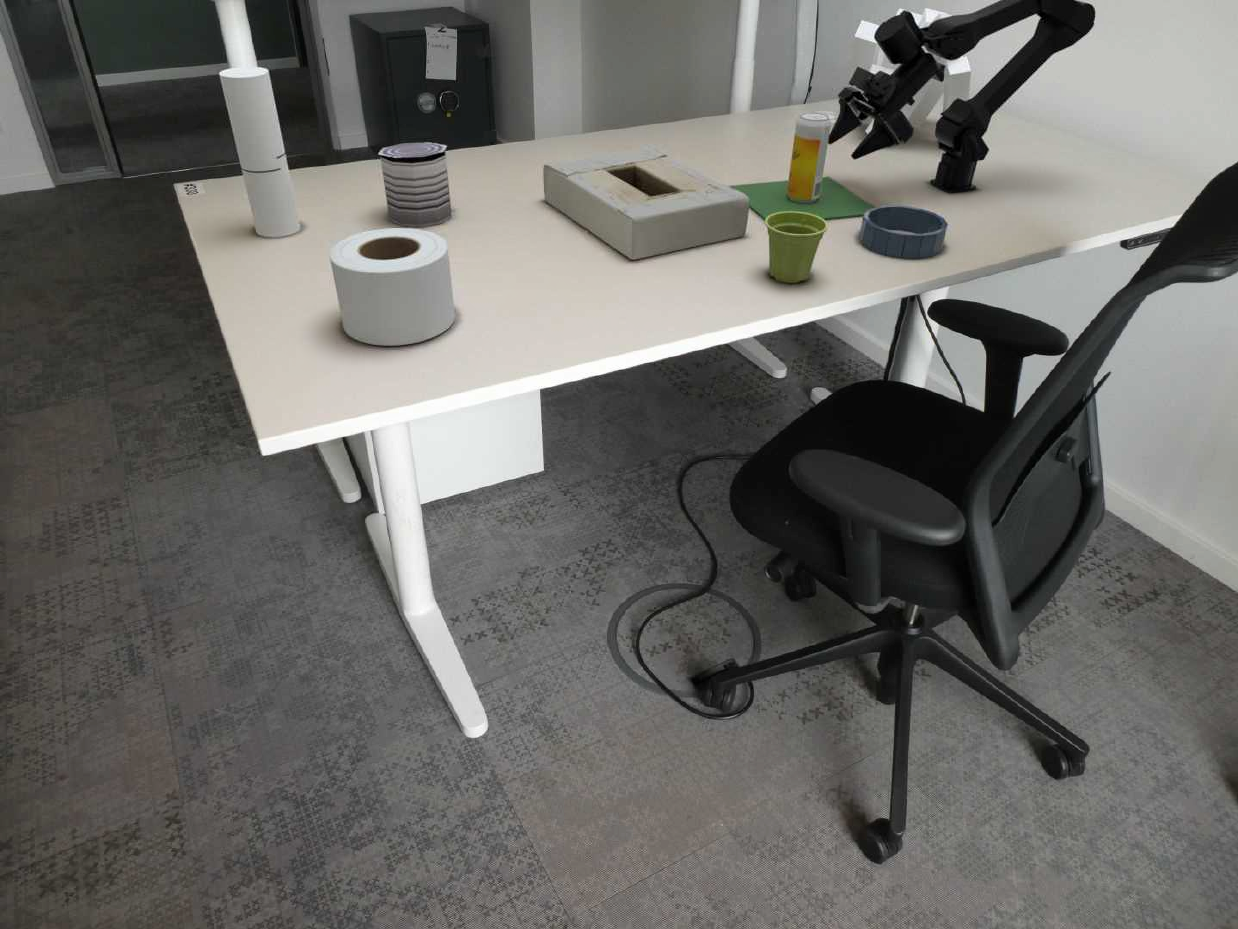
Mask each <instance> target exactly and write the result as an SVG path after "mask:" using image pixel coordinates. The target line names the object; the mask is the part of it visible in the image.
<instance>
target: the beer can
mask: <svg viewBox="0 0 1238 929" xmlns="http://www.w3.org/2000/svg"><path fill="white" fill-rule="evenodd" d="M830 117H831V116H830V115H829V114H827V113H824V112H821V111H820V112H819V111H803V112H801V113H800V114H799V115H798V118H797V119H796V121H795V128H794V129H795V130H794V137H793V143H792V151H791V158H790V159H791V160H790V167H789V174H788V179H787V181H788V188H787V195H788V196H789V199H790V200H792V201H794V202H798V203H812V202H815V201H816V199H817V198H818V197H819V196H820V190H821V184H822V177H823V176H824V171H825V170H824V169H825V165H826V164H825V163H826V157H827V152H828V145H829V144H828V139H829V134H830V132H831V126H832V123H831V119H830Z"/></svg>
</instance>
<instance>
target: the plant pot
mask: <svg viewBox="0 0 1238 929" xmlns="http://www.w3.org/2000/svg"><path fill="white" fill-rule="evenodd" d="M764 225H765V227H766V228H767V229H766V230H767V235H768V258H769V259H768V260H769V262H768V263H769V265H768V266H769V275H770V277H771V278H774V279H775V280H776V281H777V282H782V283H788V284H798V283H800V282H801V281H807V280H808V279H809V277H810V274H811V270H812V266H813V263H814V261H815V257H816V254H817V251H818V248H819V245H820V242H821V240H822V239H823V236H824V234H825V233H826V232H827V231H828V229H829V223H828V222H827V220H824V219H822V218H821V217H819V216H816V215H813V214H809V213H804V212H793V211H788V212H778V213H774V214H771V215H770V216H768V217H767V218H766V219H765V220H764Z"/></svg>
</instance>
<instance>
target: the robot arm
mask: <svg viewBox="0 0 1238 929" xmlns="http://www.w3.org/2000/svg"><path fill="white" fill-rule="evenodd" d="M909 11H910V10H907V11H906V9H903V11H902V12H901V13H900V15H897V16H896V15H893V16H892V17H890V18H888V19H887V20H886V21H883V22H882V23H881V24H879V27H878V29H877V30H876V32H875V35H874V39H875V40H876V42H877V43H878V45H879V46H880V48H881V49H882V51H883V52H884V54H885V55H886V57H887V58H888V60H889V61H890V63H891V64H900V65H899V66H898V67H897V68H896V70H895V71H894V72H893V73H892V74H891V75H889V74H887V73H885V72H882V71H878V72H877V73H876V74H873V73H871V72H869V71H867V70H865V69H862V68H860V67H857V68H856V70H855V72H854V74H853V76H852V78H851V80H850V81H849V83H847V84H848V85H850V86H844V87H843V89H841V91H840V92H839V93H838V94H837V97H838V98H839V99H838V104H839V114H838V116H837V118H836V121H835V122H834V125H833V126H832V129H830V133H829V139H828V145H832V144H834V143H836V142H837V141H839V140H841V139H842V138H844V137H845V136H847V135H848V134H850V133H851V132H853V131H855V130H856V129H857V128H859V127H860V126H862V125H863V122H862V121H866V120H867V119H868V118H871V119H872V120H873V119H874V123H873V127H872V130H871V131H870V132H869V134H867V135H866V136H865V137H864V138H863V139H862V141H861V142H860V143H859V144H858V145H857V146H856V148H855V149H854V150H853V151H852V153H851V155H850V156H851V158H852V159H853V160H858V159H861V158H863V157H865V156H867V155H870V154H873V153H875V152H879V151H881V150H883V149H886V148H888V147H892V146H898V145H899V144H900V143H901V144H903V145H905V144H906V143H907V142H908V141H910V140H911V138H912V137H913V135H914V132H915V131H914V130H915V128H914V127H913V124H910V122H909V121H908V119H907V118H906V116H905V115H904V114H903V112H902V111H900V110H901V109H902V108H903V107H904V106H905V105H906V104H908V105H910V106H912V105H913V104H914V102H915V101H914V99H913V97H914V96H915V95H916V94H917V92H918V91H919V90H920V89H921V88H922V87H923V86H924V85H925V84H926V83H927V82H928V81H929V80H930V79H931V78H932V79H935V80H937V81H940V82H943V81H944V70H945V65H943V64H940V63H937V61H936V60H935V58H934V57H933V55H932V54H934V55H937V56H939V57H942V58H944V59H947V60H956V59H958V58H960V57H962V56H963V57H964V56H965V55H966V54H968V53H969V52H971V51H972V50H974V49H975V48H976V47H977V46H978V44H979V42H980V41H982V40H983V39H985V38H986V37H988V36H991V35H992V34H995V33H997V32H999V31H1002V30H1004V29H1006V28H1008V27H1010V26H1013V25H1014V24H1017V23H1019V22H1021V21H1024V20H1026V19H1028V18H1030V17H1032V16H1034V15H1036V16H1037V17H1039V19H1038V21H1037V24H1036V28H1035V30H1034V33H1033V36H1032V37H1030V39H1029V40H1028V41H1027V42H1026V43H1025V44H1024V45H1023V46H1022V47H1021V48H1020V49H1019V50H1018V51H1017V53H1016V54H1014V55H1013V56H1012V57H1011V58H1010V60H1009V61H1007V62H1006V64H1004V65H1003V67H1001V68H1000V69H999V71H998V72H996V74H995V75H994V76H993V77H992V78H991V79H990V80H988V82H987V83H986V84H985V85H984V86H983V87H982V88H981V89H980V90H979V91H978V92H977V93H976V94H975V95H974V96H972V98H969V100H967V101H964V100H962V99H959V98H957V99H956V100H954V101H953V103H952V104H951V105H950V106H949V108H948V109H946V110H945V111H944V112H943V111H941V112H940V114H939V115H940V117H939V119H938V120H937V121H936V123H935V129H934V135H935V136H934V137H935V138H936V140H937V146H938V147H937V148H938V150H941V151H943V152H942V154H941V156H940V157H941V158H940V161H939V162H938V165H937V168H936V173H935V176H934V177H935V178H933V179H930V181H929V182H930V184H933V185H935V186H936V187H938V188H940V189H942V190H944V191H946V192H948V193H959V192H964V191H972V190H973V191H974V190H977V188H978V187H977V185H975V184H972V183H973V181H974V180H973V179H974V176H975V172H976V169H977V164H978V162H979V161H984V160H985V159H986V157H987V155H988V154H989V151H990V149H989V146H988V145H987V144H986V142H985V140H984V139H983V137H984V136H985V134H986V133H987V132H988V128H989V126H990V123H991V120H992V117H993V115H994V114H995V113H996V112H997V111H998V110H999V109H1000V108H1001V107H1002V106H1003V105H1004V104H1005V103H1006V102H1007V101H1008V100H1009V99H1010V98H1011V97H1012V96H1013V95H1014V94H1015V93H1016V92H1017V91H1018V90H1019V89H1020V88H1021V87H1022V86H1023V85H1024V84H1025V83H1026V82H1027V81H1028V80H1029V79H1030V78H1031V77H1032V76H1033V75H1034V74H1035V73H1037V71H1038V70H1039V69H1040V68H1041V67H1042V66H1043V65H1044V64H1045V63H1046V62H1047V61H1048V60H1049V59H1050V58H1051V57H1052V56H1053V55H1054V54H1057V53H1058V52H1061V51H1064V50H1066V49H1068V48H1071V47H1072V46H1074V45H1076V43H1078V42H1079V41H1081V40H1082V39H1083V38H1084V37H1085V36H1087V35H1088V34H1089V33H1090V32H1091V30H1093V28H1094V26H1095V20H1096V10H1095V7H1094V5H1093V4H1091V3H1089V2H1084V1H1081V0H998V1H995V2H994V3H991V4H990V5H989V4H988V5H987V6H985V7H983V8H980V9H979V10H976V11H974V12H971V13H967V14H956V15H955V14H954V15H952V16H950V17H946V18H941V19H938V20H936V21H934V22H932V23H931V24H930V25H929V26H928V27H923V28H919V27H918V25H917V24H916V22H915V20H914V17H913V15H912V13H911V12H912V11H910V12H909ZM922 46H924V47H925V48H926V50H927V51H928V52H930V53H925V51H924V50H923V48H922ZM854 87H855V88H854ZM861 91H862V92H861ZM863 91H864V92H863ZM862 94H863V95H864V96H863V95H862ZM865 98H867V100H868V101H867V100H866V99H865ZM872 111H873V112H872Z"/></svg>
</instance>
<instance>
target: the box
mask: <svg viewBox="0 0 1238 929" xmlns="http://www.w3.org/2000/svg"><path fill="white" fill-rule="evenodd" d="M542 168H543V170H542V174H543V196H544V200H545V201H546V202H547V203H548V204H549V205H551V206H552V207H554V208H556V210H559V211H560V212H561V213H563V214H564V215H566V216H567V217H568V218H570V219H572V220H573V221H574V222H576V224H579V225H581V227H583V228H584V229H586V230H587V231H589V232H590V233H592V234H593V235H594V236H596V237H598V239H600V240H602V241H603V242H605V243H606V244H607V245H609V246H611V247H612V248H613V249H615V250H617V251H618V252H619V253H621V254H622V255H624V256H625V257H627V258H628V259H629V260H632V261H634V260H639V259H644V258H649V257H653V256H658V255H662V254H667V253H672V252H676V251H677V252H678V251H680V250H685V249H690V248H694V247H698V246H703V245H708V244H713V243H717V242H722V241H727V240H732V239H735V238H740V237H743V236H745V234H746V231H747V228H748V222H749V221H748V220H749V211H750V207H749V198H748V196H747V195H745V194H744V193H742V192H740V191H738V190H735V189H732V188H730V187H729V186H730V185H728V184H726V183H720V182H718V181H717V180H714V179H712V178H710V177H708V176H706V175H704V174H702V173H700V172H698V171H697V170H694V169H693V168H691V167H689V166H687V165H685V164H683V163H681V162H679V161H677V160H676V159H674V158H671V157H669V156H668V155H667V154H666V153H663V152H661V151H660V150H659V149H658V148H656V147H653V146H649V145H648V146H644V147H639V148H635V149H629V150H623V151H622V150H621V151H617V152H612V153H607V154H606V153H605V154H599V155H594V156H587V157H581V158H576V159H570V160H563V161H551V162H546V163H545V164H543V167H542Z"/></svg>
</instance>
